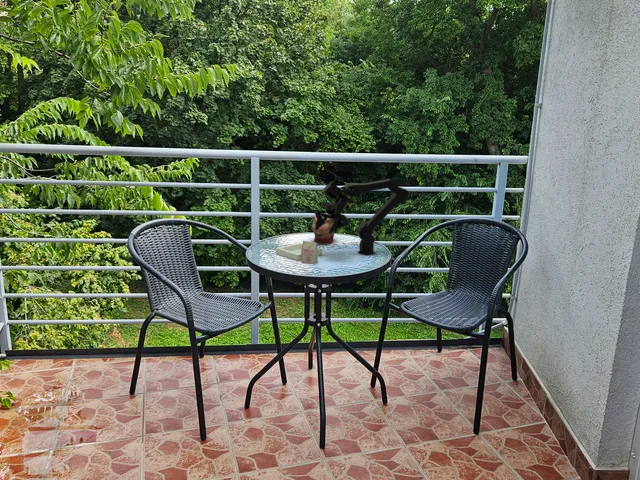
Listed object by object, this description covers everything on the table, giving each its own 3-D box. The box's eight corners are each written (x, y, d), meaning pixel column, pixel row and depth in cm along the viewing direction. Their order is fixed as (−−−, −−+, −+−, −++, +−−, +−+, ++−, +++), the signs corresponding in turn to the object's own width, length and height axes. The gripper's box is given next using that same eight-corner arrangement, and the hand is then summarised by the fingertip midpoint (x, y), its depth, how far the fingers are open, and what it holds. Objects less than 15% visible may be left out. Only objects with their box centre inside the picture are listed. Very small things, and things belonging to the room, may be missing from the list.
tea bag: (304, 260, 263) (305, 239, 261) (317, 262, 260) (318, 241, 258) (301, 262, 260) (301, 241, 257) (314, 264, 257) (314, 243, 254)
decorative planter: (318, 236, 308) (318, 211, 305) (339, 238, 305) (340, 213, 302) (307, 245, 290) (307, 218, 286) (330, 247, 287) (330, 220, 283)
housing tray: (322, 255, 272) (322, 249, 272) (297, 261, 261) (297, 255, 261) (300, 248, 283) (300, 242, 283) (275, 254, 273) (275, 248, 272)
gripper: (317, 192, 268) (300, 218, 263) (345, 197, 255) (327, 225, 250) (328, 206, 275) (312, 231, 271) (356, 212, 262) (339, 239, 258)
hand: (322, 231), depth 262 cm, fingers open, 9 cm apart
